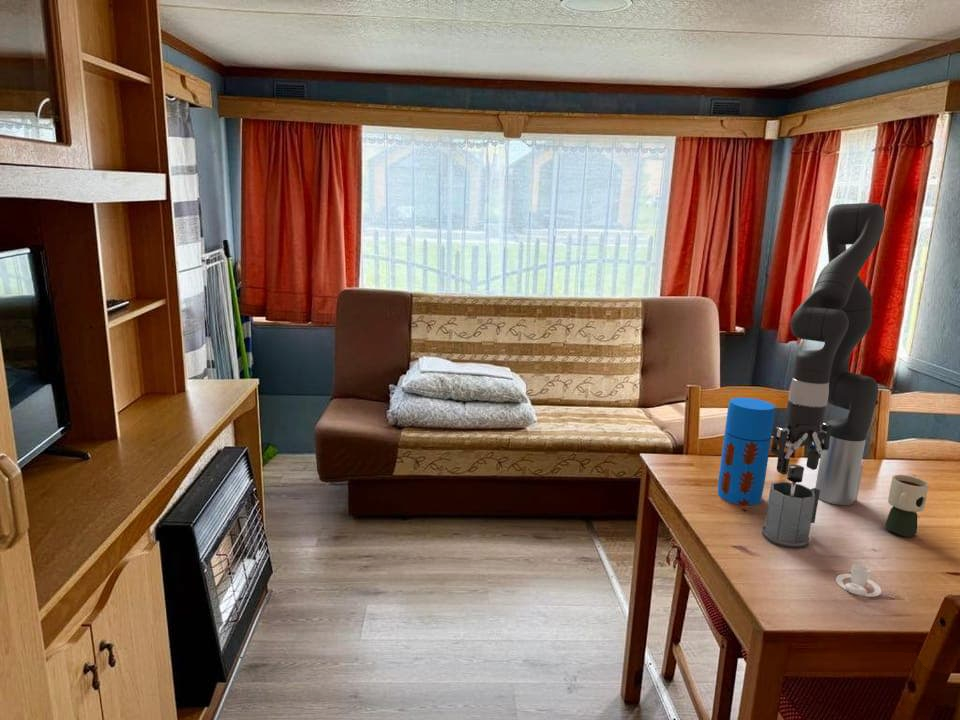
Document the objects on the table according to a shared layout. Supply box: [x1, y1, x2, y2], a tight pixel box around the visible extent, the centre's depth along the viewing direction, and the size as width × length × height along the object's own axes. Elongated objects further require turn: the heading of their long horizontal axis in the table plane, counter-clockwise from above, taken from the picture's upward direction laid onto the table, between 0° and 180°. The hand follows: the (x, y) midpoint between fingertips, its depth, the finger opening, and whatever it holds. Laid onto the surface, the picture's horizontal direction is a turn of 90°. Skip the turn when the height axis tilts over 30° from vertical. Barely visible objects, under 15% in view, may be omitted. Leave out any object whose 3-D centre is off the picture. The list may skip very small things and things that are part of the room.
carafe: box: [761, 481, 820, 550], centre depth 148 cm, size 12×10×12 cm
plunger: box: [786, 463, 805, 497], centre depth 146 cm, size 7×7×14 cm
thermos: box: [717, 397, 776, 507], centre depth 167 cm, size 11×11×25 cm
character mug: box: [884, 474, 930, 538], centre depth 152 cm, size 11×7×13 cm, turn 136°
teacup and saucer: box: [835, 563, 882, 598], centre depth 130 cm, size 9×8×4 cm
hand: (796, 470), depth 145 cm, fingers open, 8 cm apart
